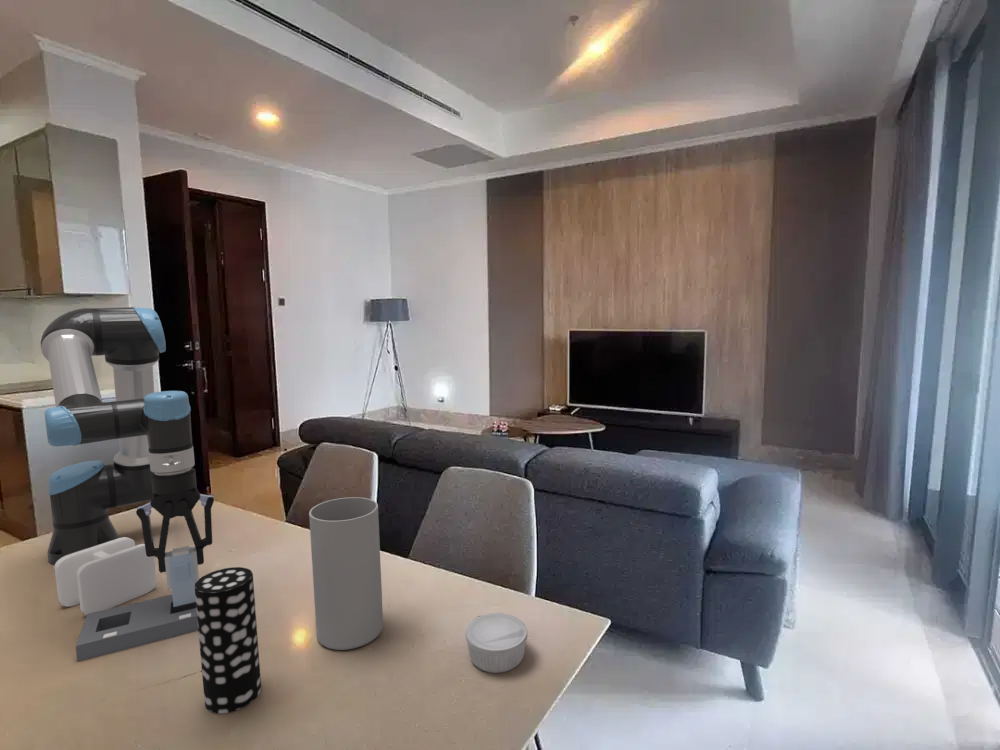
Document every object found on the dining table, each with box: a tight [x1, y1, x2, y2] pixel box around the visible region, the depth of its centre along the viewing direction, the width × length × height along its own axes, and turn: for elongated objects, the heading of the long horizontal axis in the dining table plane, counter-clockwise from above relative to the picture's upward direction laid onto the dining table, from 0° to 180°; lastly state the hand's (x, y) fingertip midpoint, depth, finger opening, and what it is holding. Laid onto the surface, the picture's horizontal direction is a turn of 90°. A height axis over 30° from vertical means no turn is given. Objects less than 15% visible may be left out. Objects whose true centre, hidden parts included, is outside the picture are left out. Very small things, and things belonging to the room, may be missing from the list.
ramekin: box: [464, 612, 529, 674], centre depth 98 cm, size 11×11×5 cm
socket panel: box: [75, 594, 198, 663], centre depth 109 cm, size 12×22×4 cm, turn 119°
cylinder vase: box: [308, 496, 384, 651], centre depth 105 cm, size 12×12×25 cm
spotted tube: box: [194, 566, 262, 714], centre depth 89 cm, size 8×8×20 cm
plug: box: [169, 545, 196, 607], centre depth 110 cm, size 5×4×11 cm
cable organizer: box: [53, 536, 158, 616], centre depth 119 cm, size 15×11×12 cm
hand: (183, 582), depth 111 cm, fingers closed on plug, 4 cm apart
